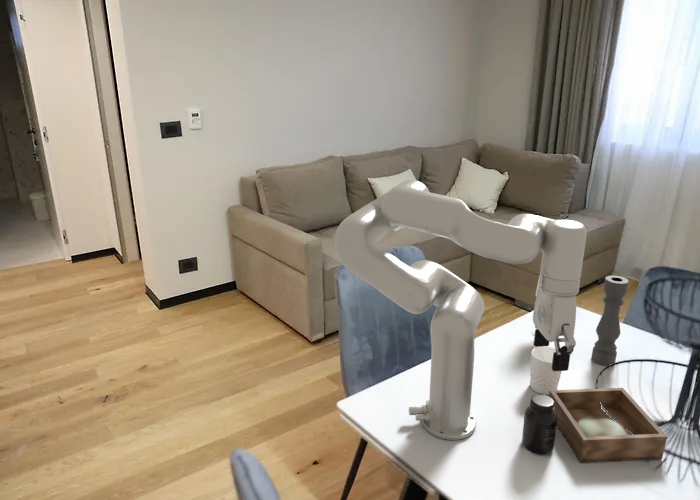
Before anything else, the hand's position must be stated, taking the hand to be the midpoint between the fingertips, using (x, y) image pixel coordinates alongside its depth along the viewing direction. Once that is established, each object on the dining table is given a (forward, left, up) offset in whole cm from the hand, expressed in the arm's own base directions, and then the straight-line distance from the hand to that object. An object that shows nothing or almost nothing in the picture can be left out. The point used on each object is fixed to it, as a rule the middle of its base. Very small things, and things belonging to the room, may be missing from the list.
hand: (550, 357), depth 114 cm
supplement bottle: (0, 0, -23) cm, 23 cm away
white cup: (+10, +22, -23) cm, 33 cm away
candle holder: (+32, +34, -23) cm, 52 cm away
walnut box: (+16, +3, -23) cm, 28 cm away
